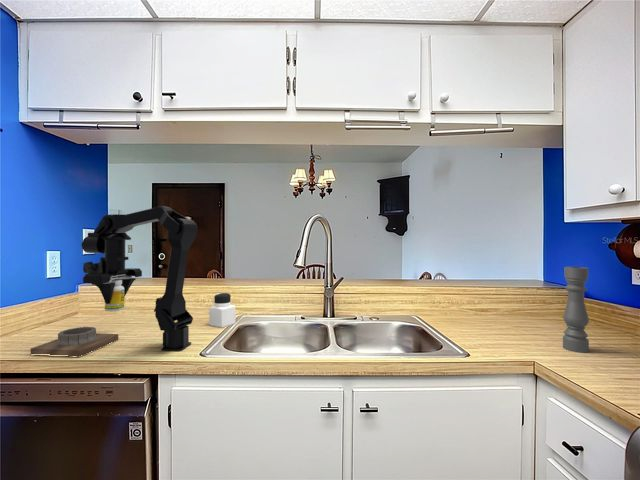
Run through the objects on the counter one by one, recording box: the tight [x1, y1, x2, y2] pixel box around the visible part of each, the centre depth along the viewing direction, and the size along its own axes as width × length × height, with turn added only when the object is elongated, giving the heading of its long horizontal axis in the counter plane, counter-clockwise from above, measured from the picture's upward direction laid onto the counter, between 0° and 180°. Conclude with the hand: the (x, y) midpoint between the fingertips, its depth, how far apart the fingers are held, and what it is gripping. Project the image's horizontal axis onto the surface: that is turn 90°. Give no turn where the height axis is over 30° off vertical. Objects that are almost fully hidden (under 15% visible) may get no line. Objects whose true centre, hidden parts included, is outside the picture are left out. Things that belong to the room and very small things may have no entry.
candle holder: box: [562, 266, 590, 354], centre depth 96 cm, size 6×6×25 cm
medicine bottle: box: [208, 292, 236, 329], centre depth 122 cm, size 7×7×12 cm
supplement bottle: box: [104, 279, 125, 312], centre depth 102 cm, size 5×5×10 cm
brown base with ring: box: [30, 326, 119, 356], centre depth 96 cm, size 15×15×5 cm
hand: (114, 301), depth 102 cm, fingers closed on supplement bottle, 5 cm apart
